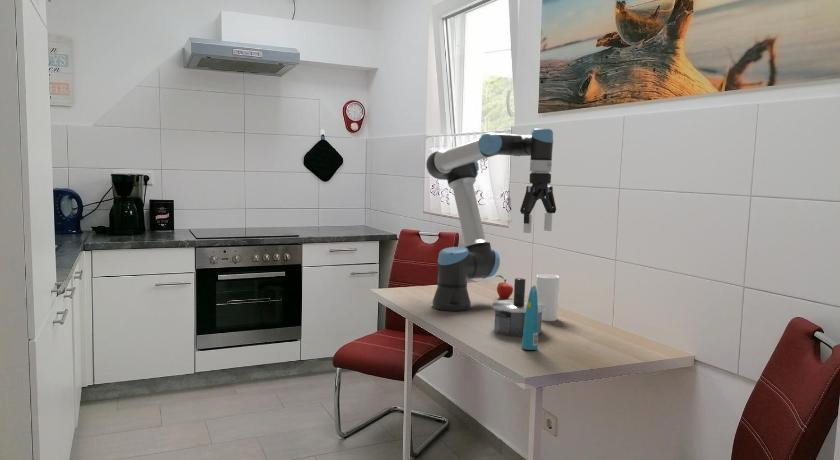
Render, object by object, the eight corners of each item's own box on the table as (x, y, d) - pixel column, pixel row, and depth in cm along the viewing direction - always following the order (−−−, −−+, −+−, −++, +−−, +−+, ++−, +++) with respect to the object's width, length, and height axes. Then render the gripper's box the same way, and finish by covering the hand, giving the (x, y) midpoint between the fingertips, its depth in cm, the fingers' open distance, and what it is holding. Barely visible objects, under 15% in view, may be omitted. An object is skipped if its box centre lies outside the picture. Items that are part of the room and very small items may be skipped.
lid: (481, 306, 210) (482, 278, 209) (511, 299, 223) (513, 272, 222) (526, 316, 198) (527, 286, 197) (555, 308, 211) (557, 280, 210)
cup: (544, 321, 225) (546, 278, 223) (530, 316, 232) (532, 274, 230) (561, 320, 228) (564, 277, 227) (547, 315, 236) (549, 273, 234)
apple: (510, 297, 267) (511, 274, 266) (513, 300, 260) (514, 277, 259) (493, 296, 267) (494, 274, 266) (495, 300, 260) (496, 276, 259)
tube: (522, 345, 194) (527, 284, 194) (538, 347, 193) (542, 285, 192) (520, 349, 187) (524, 286, 186) (536, 351, 185) (541, 287, 185)
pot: (519, 340, 199) (521, 316, 198) (481, 331, 209) (482, 308, 208) (553, 329, 214) (554, 307, 213) (515, 321, 224) (516, 299, 223)
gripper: (530, 172, 209) (527, 234, 211) (567, 173, 227) (564, 230, 229) (511, 171, 214) (509, 232, 216) (549, 172, 232) (547, 229, 234)
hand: (537, 231), depth 222 cm, fingers open, 13 cm apart
